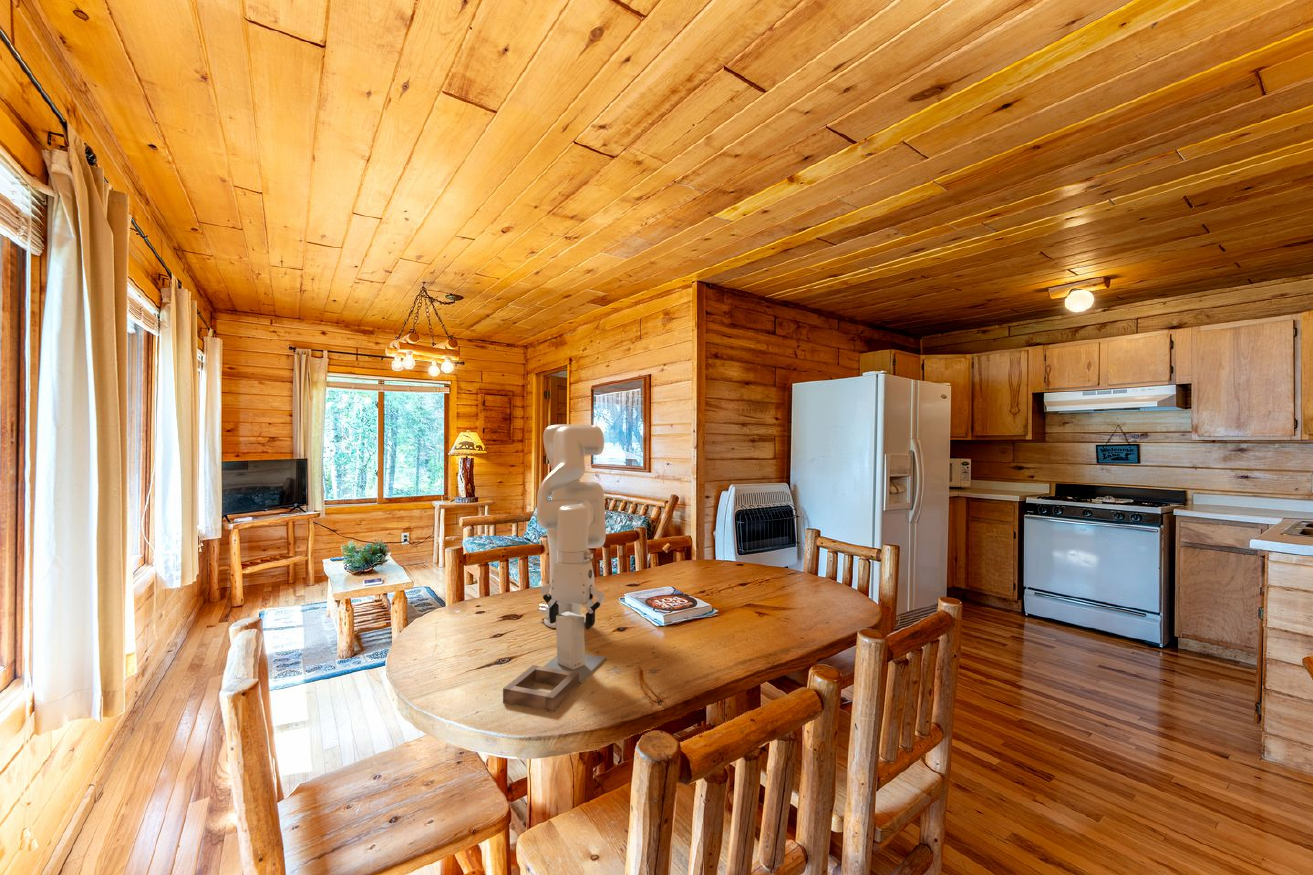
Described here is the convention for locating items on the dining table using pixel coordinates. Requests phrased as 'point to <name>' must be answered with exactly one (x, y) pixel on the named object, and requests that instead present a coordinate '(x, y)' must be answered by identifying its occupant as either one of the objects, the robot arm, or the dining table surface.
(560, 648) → the skincare box
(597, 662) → the rubber mat
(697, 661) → the dining table surface
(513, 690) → the square box holder
